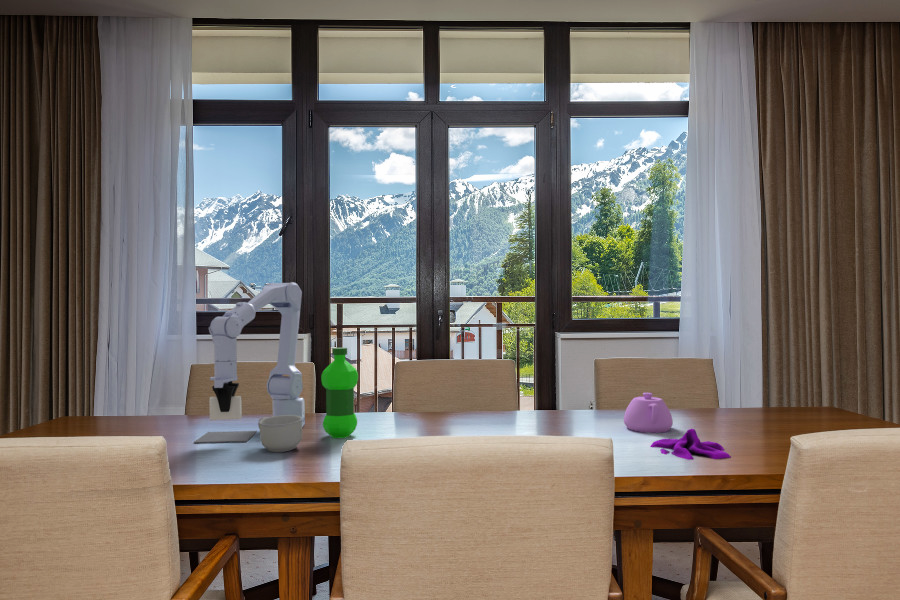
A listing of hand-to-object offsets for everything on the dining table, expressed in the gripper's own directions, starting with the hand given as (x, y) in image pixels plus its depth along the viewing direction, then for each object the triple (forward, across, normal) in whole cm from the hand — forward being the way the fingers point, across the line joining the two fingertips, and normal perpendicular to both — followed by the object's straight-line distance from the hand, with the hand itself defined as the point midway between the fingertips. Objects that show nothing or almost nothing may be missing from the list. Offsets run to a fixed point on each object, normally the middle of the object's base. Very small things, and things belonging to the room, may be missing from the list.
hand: (226, 411), depth 170 cm
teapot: (+9, -6, +120) cm, 121 cm away
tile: (+2, 0, 0) cm, 2 cm away
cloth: (+10, +23, +119) cm, 122 cm away
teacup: (+9, +7, +15) cm, 19 cm away
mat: (+9, -8, -2) cm, 12 cm away
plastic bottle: (+9, -6, +30) cm, 32 cm away
